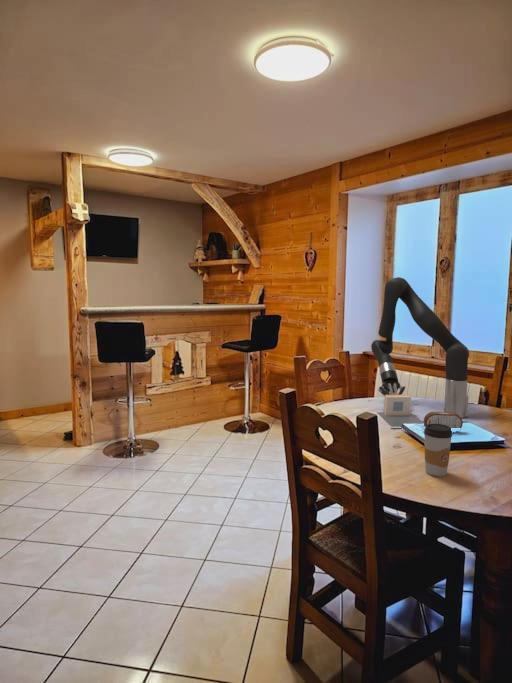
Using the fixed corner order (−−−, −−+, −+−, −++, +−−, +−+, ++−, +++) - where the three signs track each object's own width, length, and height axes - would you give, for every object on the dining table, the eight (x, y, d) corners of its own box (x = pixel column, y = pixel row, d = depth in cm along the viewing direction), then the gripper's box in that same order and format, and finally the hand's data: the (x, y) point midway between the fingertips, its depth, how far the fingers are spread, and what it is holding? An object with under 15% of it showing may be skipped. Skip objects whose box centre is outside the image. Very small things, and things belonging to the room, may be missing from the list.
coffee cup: (436, 480, 136) (438, 432, 134) (416, 470, 143) (418, 424, 142) (456, 475, 139) (458, 429, 137) (435, 466, 147) (437, 421, 145)
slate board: (410, 414, 208) (410, 412, 208) (429, 429, 186) (429, 426, 186) (376, 414, 208) (376, 412, 208) (391, 429, 186) (391, 426, 186)
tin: (460, 431, 183) (461, 411, 182) (463, 434, 180) (464, 413, 179) (422, 430, 184) (423, 410, 183) (424, 432, 181) (425, 412, 180)
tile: (407, 412, 205) (408, 394, 203) (409, 415, 202) (411, 396, 200) (383, 412, 205) (384, 394, 203) (385, 415, 202) (386, 397, 200)
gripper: (376, 369, 212) (383, 400, 202) (403, 369, 213) (412, 400, 202) (373, 378, 218) (379, 409, 207) (399, 378, 218) (407, 409, 208)
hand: (395, 404), depth 205 cm, fingers closed
